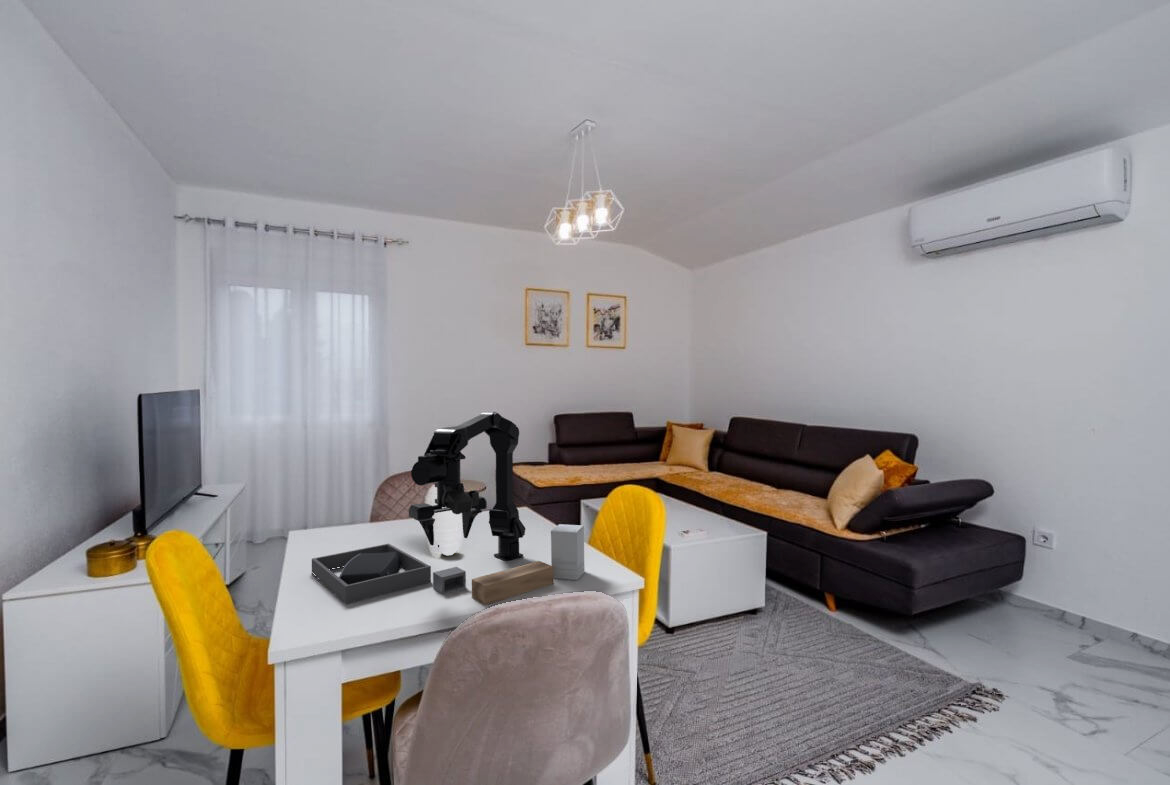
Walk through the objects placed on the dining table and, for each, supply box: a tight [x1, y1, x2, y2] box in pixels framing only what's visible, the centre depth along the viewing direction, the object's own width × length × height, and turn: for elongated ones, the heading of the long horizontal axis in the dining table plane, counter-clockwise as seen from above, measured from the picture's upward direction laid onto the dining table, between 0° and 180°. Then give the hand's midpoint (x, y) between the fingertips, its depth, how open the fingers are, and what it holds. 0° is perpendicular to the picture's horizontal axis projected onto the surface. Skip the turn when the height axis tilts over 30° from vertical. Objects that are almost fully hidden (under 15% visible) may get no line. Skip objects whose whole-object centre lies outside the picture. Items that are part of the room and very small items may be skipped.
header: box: [471, 560, 554, 606], centre depth 132 cm, size 11×20×4 cm, turn 132°
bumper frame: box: [311, 543, 432, 605], centre depth 140 cm, size 28×21×4 cm
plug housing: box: [432, 566, 467, 595], centre depth 132 cm, size 5×6×4 cm
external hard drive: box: [338, 552, 400, 585], centre depth 140 cm, size 13×19×4 cm
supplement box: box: [550, 523, 586, 581], centre depth 141 cm, size 7×7×13 cm
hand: (449, 541), depth 132 cm, fingers open, 9 cm apart
